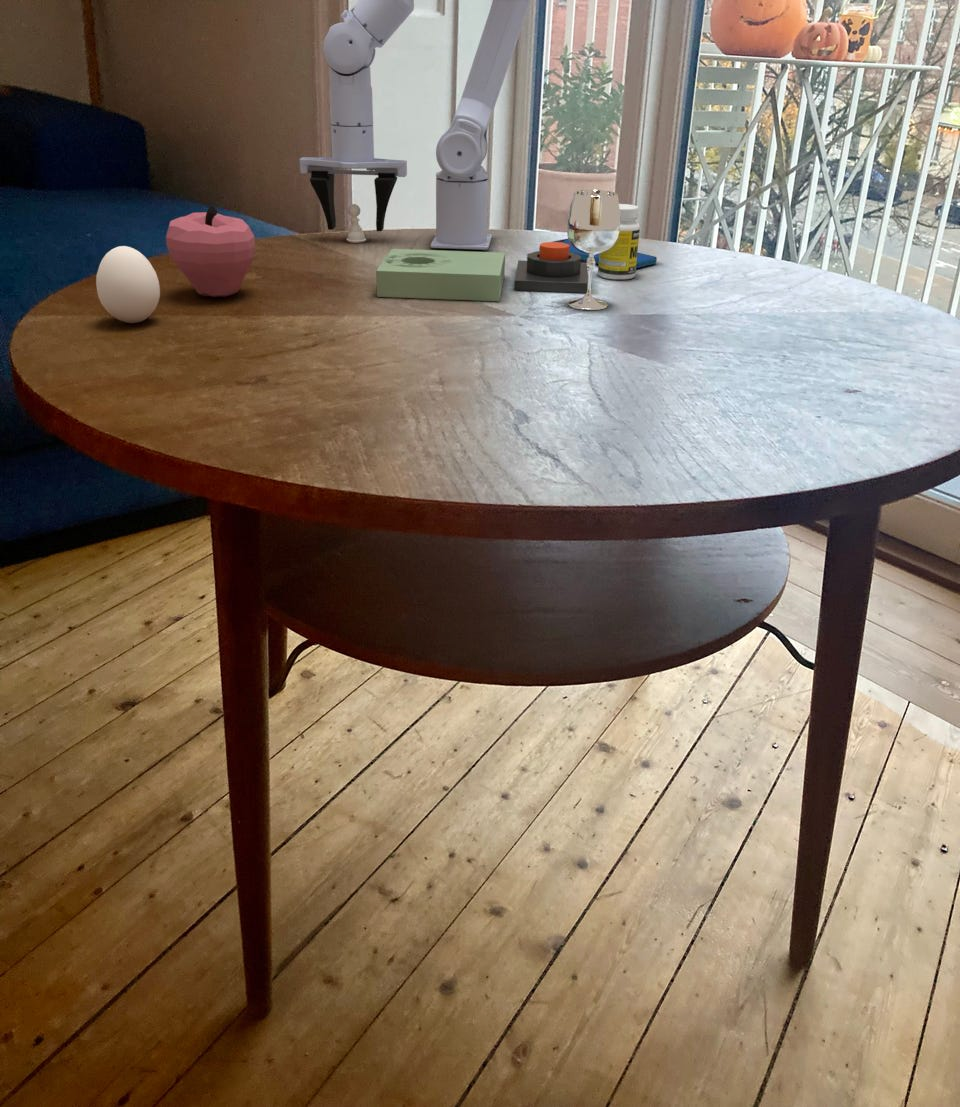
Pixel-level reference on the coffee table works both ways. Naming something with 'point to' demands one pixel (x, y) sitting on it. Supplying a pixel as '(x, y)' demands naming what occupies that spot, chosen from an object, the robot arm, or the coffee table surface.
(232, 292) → the apple
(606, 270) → the supplement bottle
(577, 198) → the wineglass
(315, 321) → the coffee table surface
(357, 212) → the chess pawn
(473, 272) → the pod holder
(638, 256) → the smartphone
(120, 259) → the egg
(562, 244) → the button
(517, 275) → the panel
